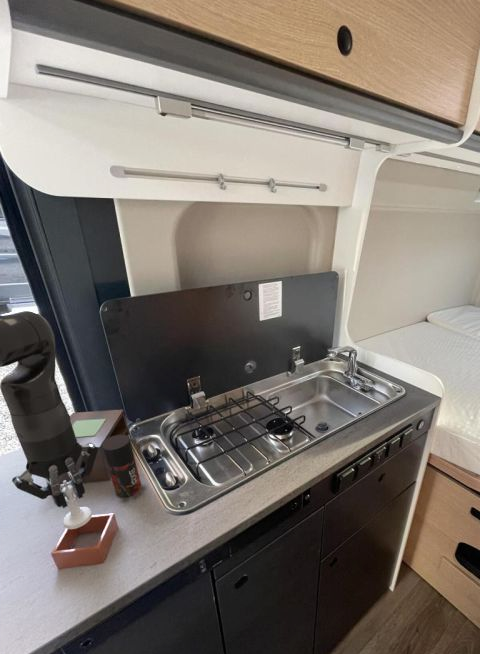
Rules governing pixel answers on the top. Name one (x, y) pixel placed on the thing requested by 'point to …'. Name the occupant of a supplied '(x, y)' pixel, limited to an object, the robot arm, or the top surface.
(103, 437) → the green-topped wooden plinth
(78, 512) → the chess piece
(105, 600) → the top surface
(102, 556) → the reddish-brown hollow diamond-shaped frame
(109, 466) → the deodorant
